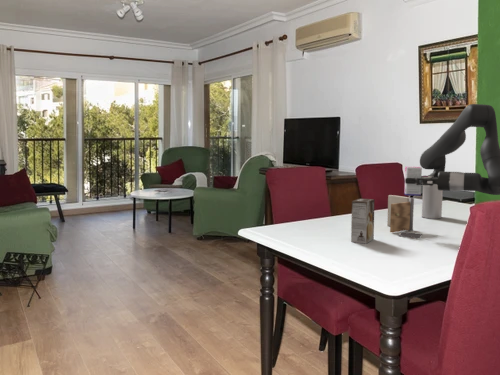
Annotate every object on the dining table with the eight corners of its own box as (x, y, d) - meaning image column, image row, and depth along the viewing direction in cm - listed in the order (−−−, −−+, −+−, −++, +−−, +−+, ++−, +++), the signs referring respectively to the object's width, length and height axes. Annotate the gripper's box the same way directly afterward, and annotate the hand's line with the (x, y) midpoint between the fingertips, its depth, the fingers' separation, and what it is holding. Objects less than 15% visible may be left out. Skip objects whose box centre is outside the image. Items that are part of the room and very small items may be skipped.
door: (407, 229, 197) (408, 201, 196) (411, 230, 195) (412, 202, 194) (390, 232, 191) (390, 203, 190) (394, 233, 189) (395, 204, 188)
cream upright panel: (390, 225, 208) (391, 195, 206) (413, 230, 197) (414, 198, 196) (387, 225, 207) (388, 195, 205) (410, 230, 196) (411, 198, 195)
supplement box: (421, 195, 182) (422, 167, 180) (405, 195, 183) (406, 167, 182) (418, 194, 187) (419, 166, 186) (403, 194, 189) (404, 166, 187)
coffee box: (358, 237, 184) (359, 198, 182) (374, 239, 180) (375, 199, 179) (350, 242, 176) (351, 200, 174) (366, 244, 173) (367, 202, 171)
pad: (401, 232, 192) (401, 232, 192) (422, 234, 189) (422, 233, 189) (398, 236, 185) (398, 235, 185) (419, 238, 182) (419, 237, 182)
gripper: (452, 170, 184) (409, 169, 191) (450, 173, 171) (404, 172, 179) (451, 188, 185) (409, 187, 192) (449, 192, 172) (403, 191, 180)
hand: (406, 179), depth 185 cm, fingers closed on supplement box, 7 cm apart
